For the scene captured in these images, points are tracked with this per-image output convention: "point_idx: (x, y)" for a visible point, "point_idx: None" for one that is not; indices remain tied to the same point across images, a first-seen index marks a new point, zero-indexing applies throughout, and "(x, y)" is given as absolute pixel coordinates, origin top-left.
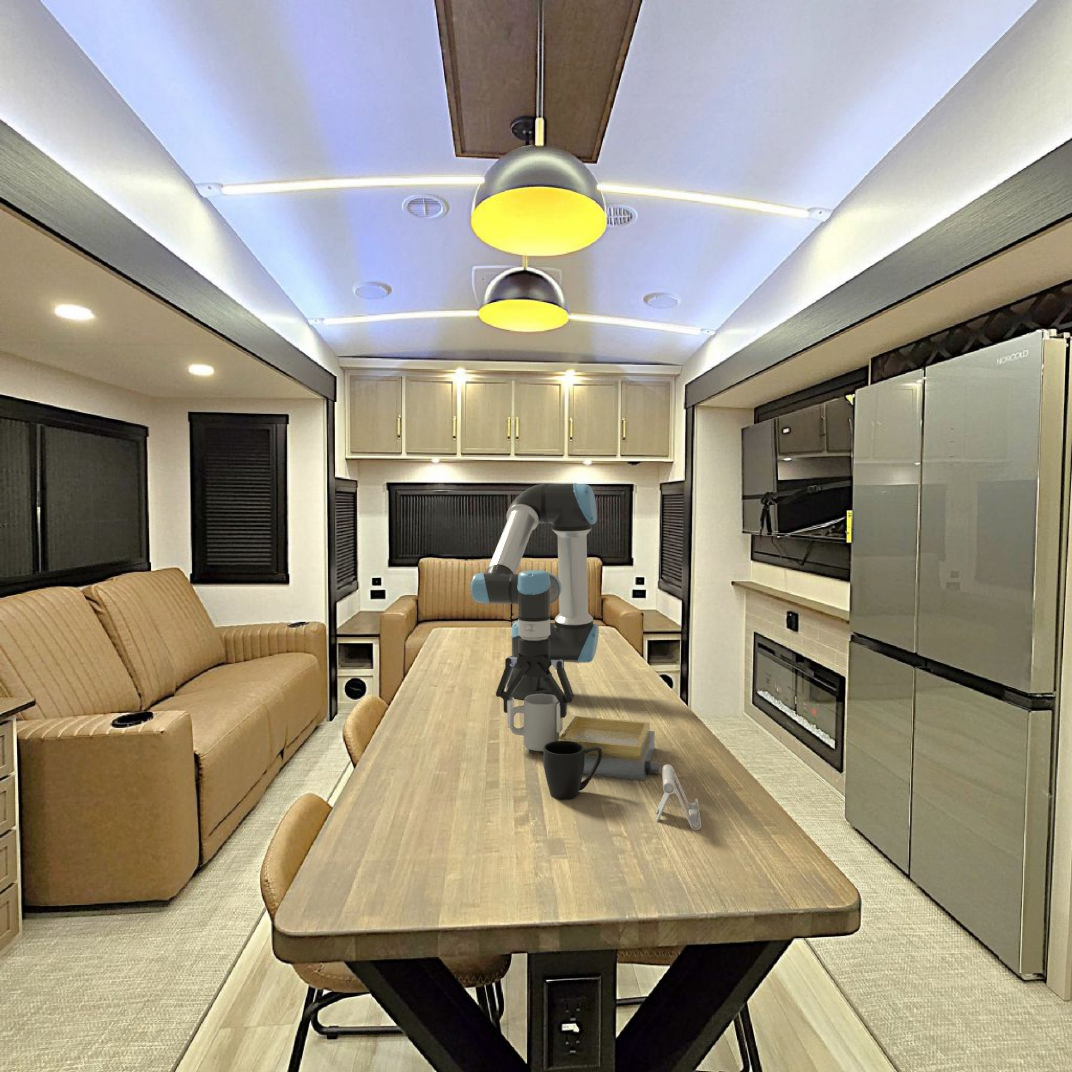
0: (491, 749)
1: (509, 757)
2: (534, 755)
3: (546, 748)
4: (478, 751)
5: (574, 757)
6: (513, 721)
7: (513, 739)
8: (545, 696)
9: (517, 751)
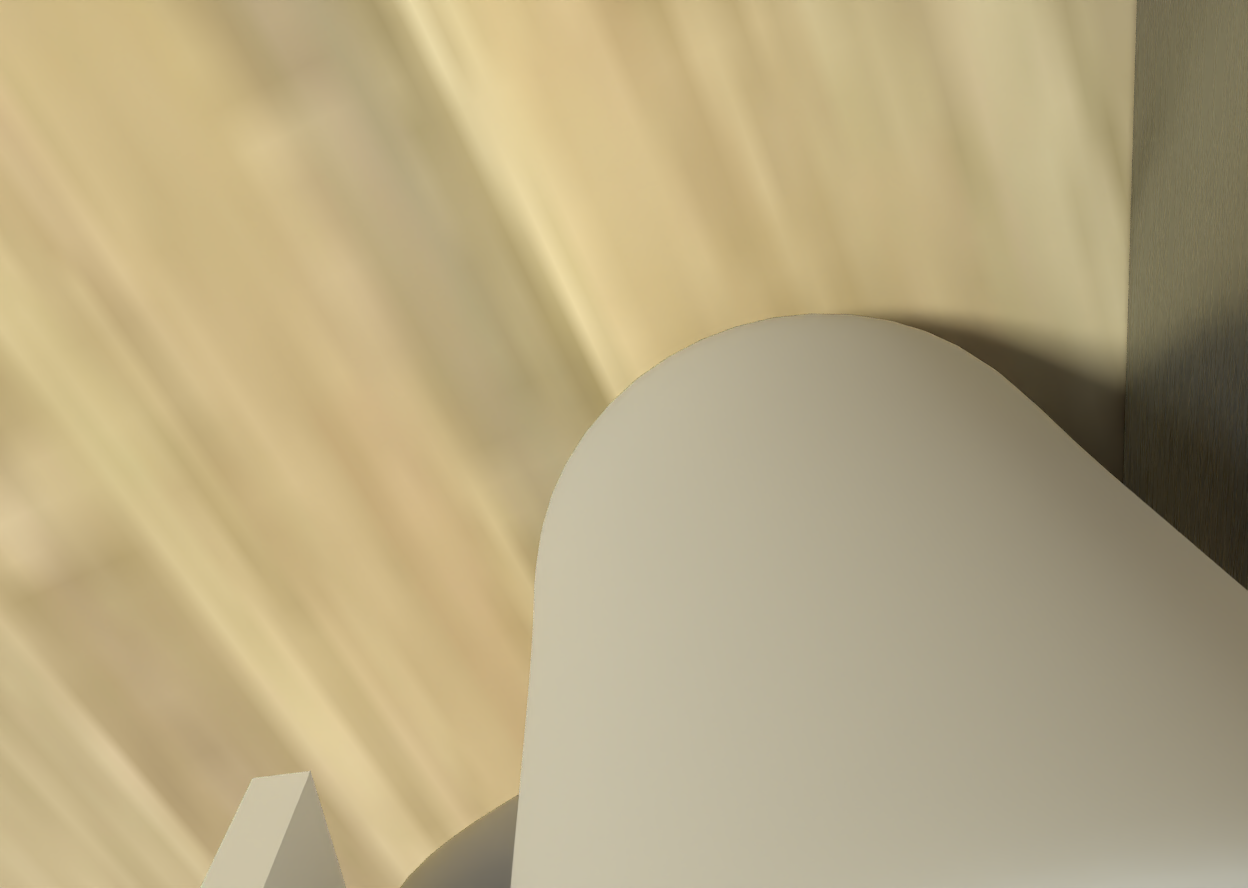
0: (194, 763)
1: None
2: None
3: None
4: (99, 866)
5: None
6: (300, 842)
7: (231, 333)
8: (1068, 851)
9: (523, 701)
